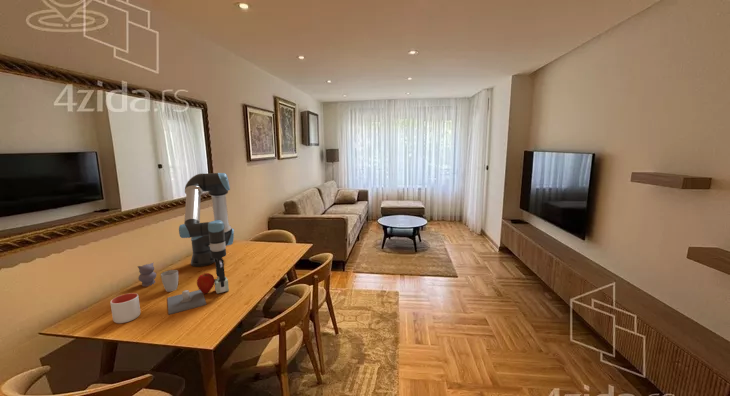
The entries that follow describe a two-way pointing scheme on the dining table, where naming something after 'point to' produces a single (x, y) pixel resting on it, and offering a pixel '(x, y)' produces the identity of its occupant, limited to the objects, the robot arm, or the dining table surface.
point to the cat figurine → (147, 274)
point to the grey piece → (185, 301)
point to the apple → (205, 282)
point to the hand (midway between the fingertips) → (221, 289)
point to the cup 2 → (170, 280)
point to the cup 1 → (125, 308)
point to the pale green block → (219, 286)
